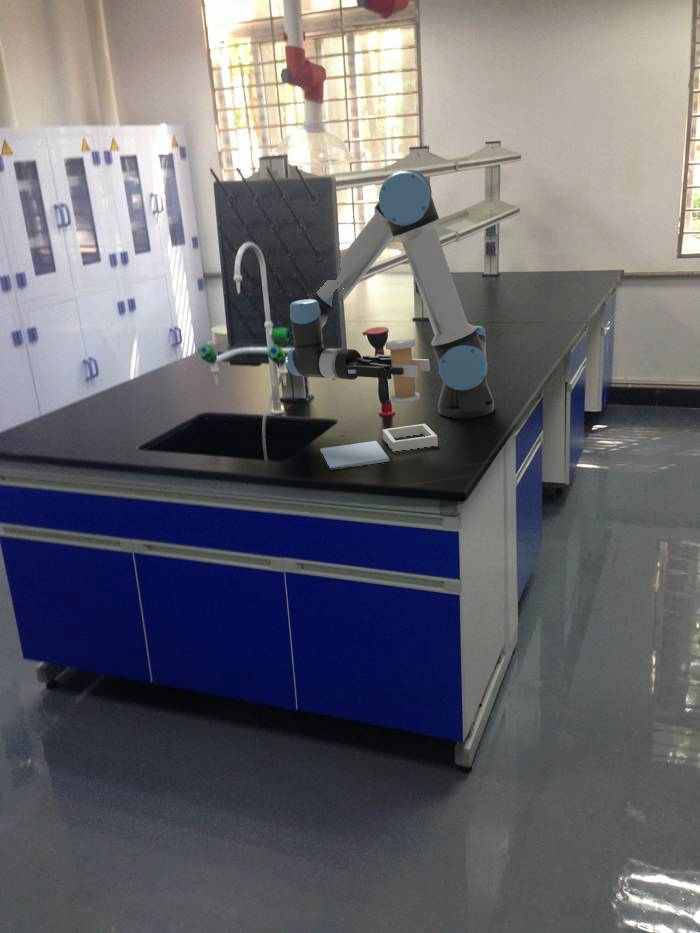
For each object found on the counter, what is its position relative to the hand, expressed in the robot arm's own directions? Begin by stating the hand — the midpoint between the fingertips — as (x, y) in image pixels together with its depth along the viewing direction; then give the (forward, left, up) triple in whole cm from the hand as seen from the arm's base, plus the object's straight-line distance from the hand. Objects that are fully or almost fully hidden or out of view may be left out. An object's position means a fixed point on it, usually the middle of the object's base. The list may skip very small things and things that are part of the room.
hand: (422, 368), depth 196 cm
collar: (+3, -4, -19) cm, 20 cm away
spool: (+4, -4, -8) cm, 10 cm away
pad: (+18, +1, -19) cm, 26 cm away
